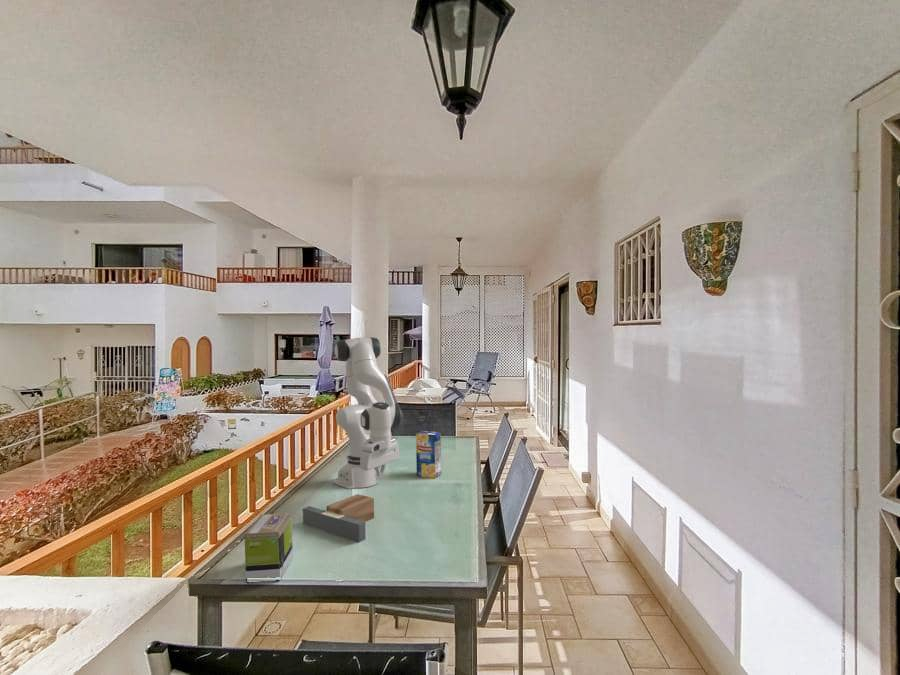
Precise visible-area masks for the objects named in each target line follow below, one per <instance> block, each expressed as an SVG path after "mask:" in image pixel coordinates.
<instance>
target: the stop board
mask: <svg viewBox="0 0 900 675" xmlns="http://www.w3.org/2000/svg"><path fill="white" fill-rule="evenodd" d="M304 524H305V525H304ZM302 525H304V526H307V525H308V526H307V527H310V526H311V528H313V527H314V529H316V528H317V530H319V529H320V531H323V532H325V533H326V532H327V533H330V534H332V535H335V536H338V537H341V538H344V539H349V540H352V541H355V542H357V543H361V542H363V541H364V540H366V539H367V538H366V537H367V536H366V522H364V521H361V520H357V519H353V518H350V517H346V516H344V515H341V514H337V513H334V512H330V511H326V510H324V509H321V508H317V507H313V506H311V505H309V506H306V507H303V508H302Z"/></svg>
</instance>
